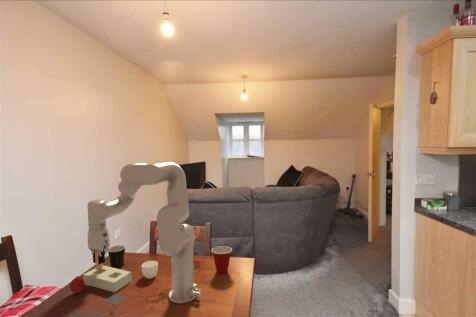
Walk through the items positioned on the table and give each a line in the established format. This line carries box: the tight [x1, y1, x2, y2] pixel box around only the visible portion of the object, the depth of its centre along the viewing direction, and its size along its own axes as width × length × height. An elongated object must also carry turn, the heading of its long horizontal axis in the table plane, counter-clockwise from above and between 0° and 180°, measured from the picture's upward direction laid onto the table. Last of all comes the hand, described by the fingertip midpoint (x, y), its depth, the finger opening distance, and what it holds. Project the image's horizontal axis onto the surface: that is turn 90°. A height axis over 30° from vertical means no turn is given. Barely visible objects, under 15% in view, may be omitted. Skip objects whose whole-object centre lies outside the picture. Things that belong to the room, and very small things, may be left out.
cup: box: [141, 260, 159, 279], centre depth 130 cm, size 8×10×7 cm
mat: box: [103, 292, 129, 306], centre depth 110 cm, size 8×6×1 cm
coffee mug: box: [107, 244, 126, 269], centre depth 139 cm, size 12×9×10 cm
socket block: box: [82, 264, 132, 293], centre depth 124 cm, size 20×10×5 cm, turn 68°
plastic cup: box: [211, 245, 233, 275], centre depth 133 cm, size 11×11×12 cm
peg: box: [95, 249, 104, 270], centre depth 125 cm, size 3×3×10 cm
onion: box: [69, 275, 86, 294], centre depth 116 cm, size 6×6×8 cm
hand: (99, 262), depth 125 cm, fingers closed on peg, 3 cm apart
